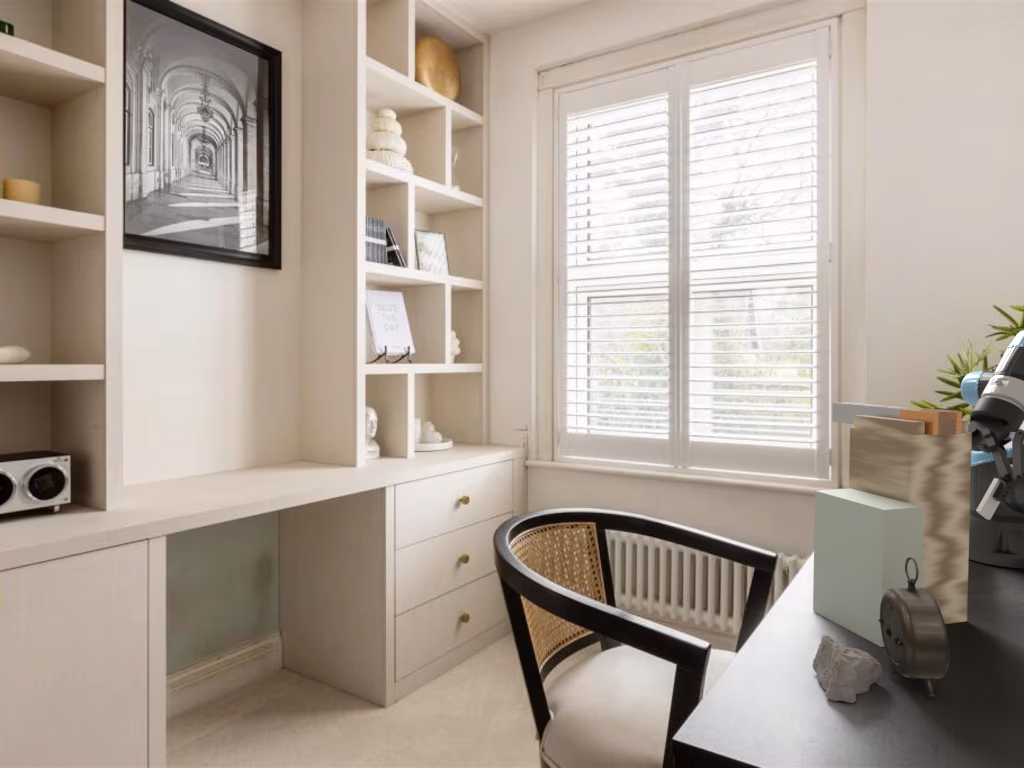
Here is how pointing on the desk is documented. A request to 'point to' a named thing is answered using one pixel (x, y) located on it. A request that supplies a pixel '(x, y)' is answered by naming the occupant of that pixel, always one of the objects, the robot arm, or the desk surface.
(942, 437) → the stand
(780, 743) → the desk surface
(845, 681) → the stone
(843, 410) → the grey long bar
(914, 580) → the alarm clock
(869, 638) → the pale green block
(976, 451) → the robot arm
